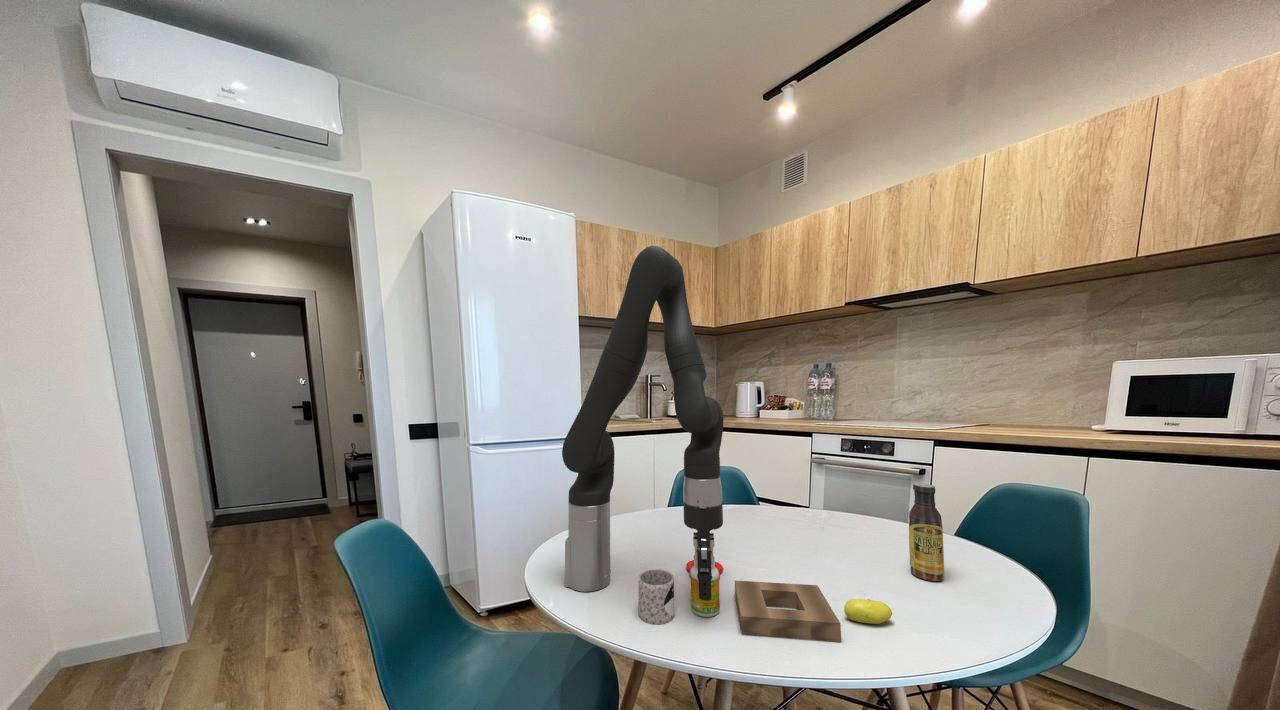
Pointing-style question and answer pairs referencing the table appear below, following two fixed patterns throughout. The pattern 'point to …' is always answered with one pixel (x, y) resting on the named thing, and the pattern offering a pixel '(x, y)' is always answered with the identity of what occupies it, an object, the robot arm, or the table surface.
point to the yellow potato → (867, 611)
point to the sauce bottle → (926, 535)
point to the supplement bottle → (711, 606)
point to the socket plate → (785, 611)
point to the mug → (656, 597)
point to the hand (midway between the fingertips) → (704, 590)
